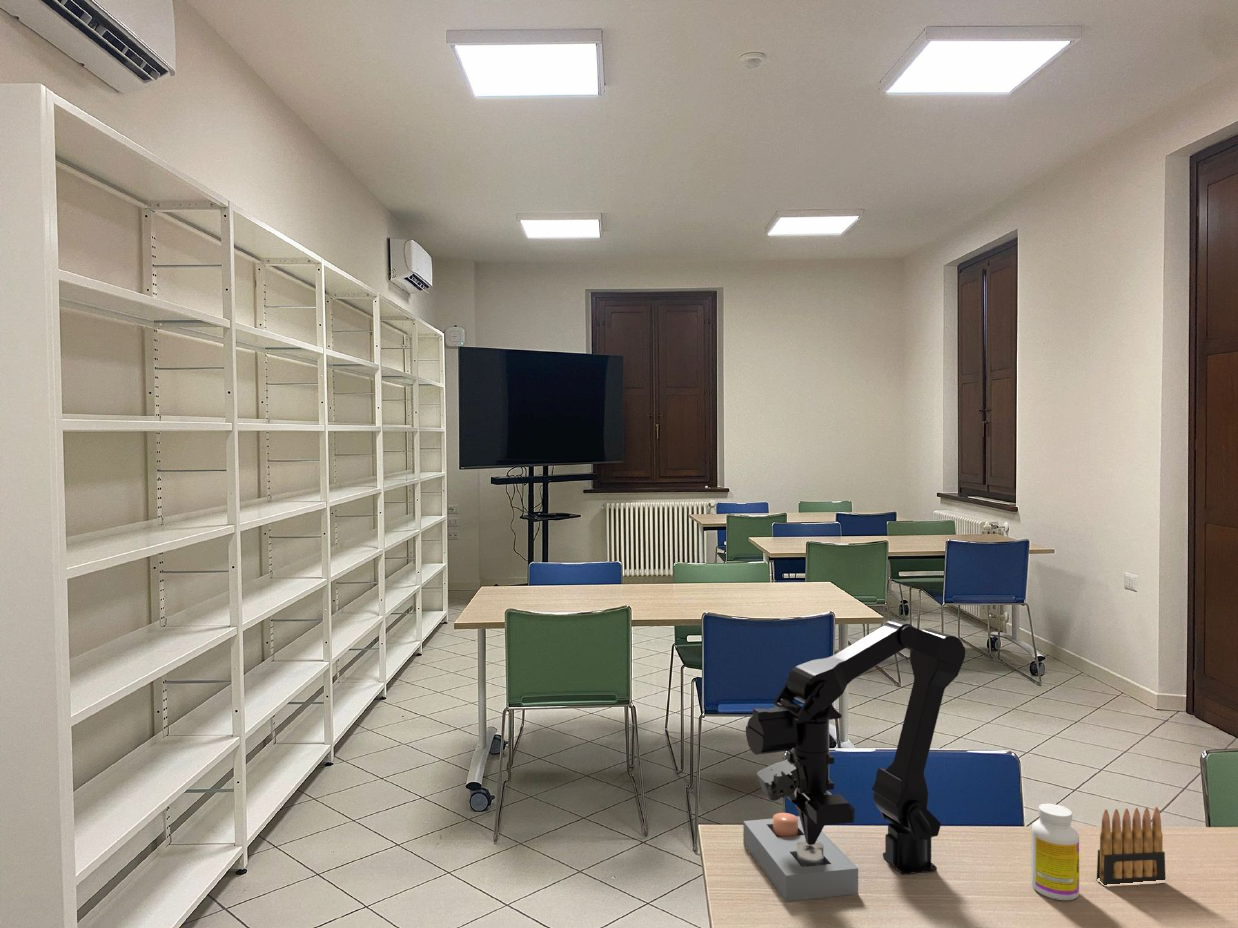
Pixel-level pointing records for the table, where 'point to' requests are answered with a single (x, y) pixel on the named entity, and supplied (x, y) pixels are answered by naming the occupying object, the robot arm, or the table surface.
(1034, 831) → the supplement bottle
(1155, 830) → the ammunition clip
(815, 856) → the steel plunger
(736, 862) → the table surface
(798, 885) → the panel
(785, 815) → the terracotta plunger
